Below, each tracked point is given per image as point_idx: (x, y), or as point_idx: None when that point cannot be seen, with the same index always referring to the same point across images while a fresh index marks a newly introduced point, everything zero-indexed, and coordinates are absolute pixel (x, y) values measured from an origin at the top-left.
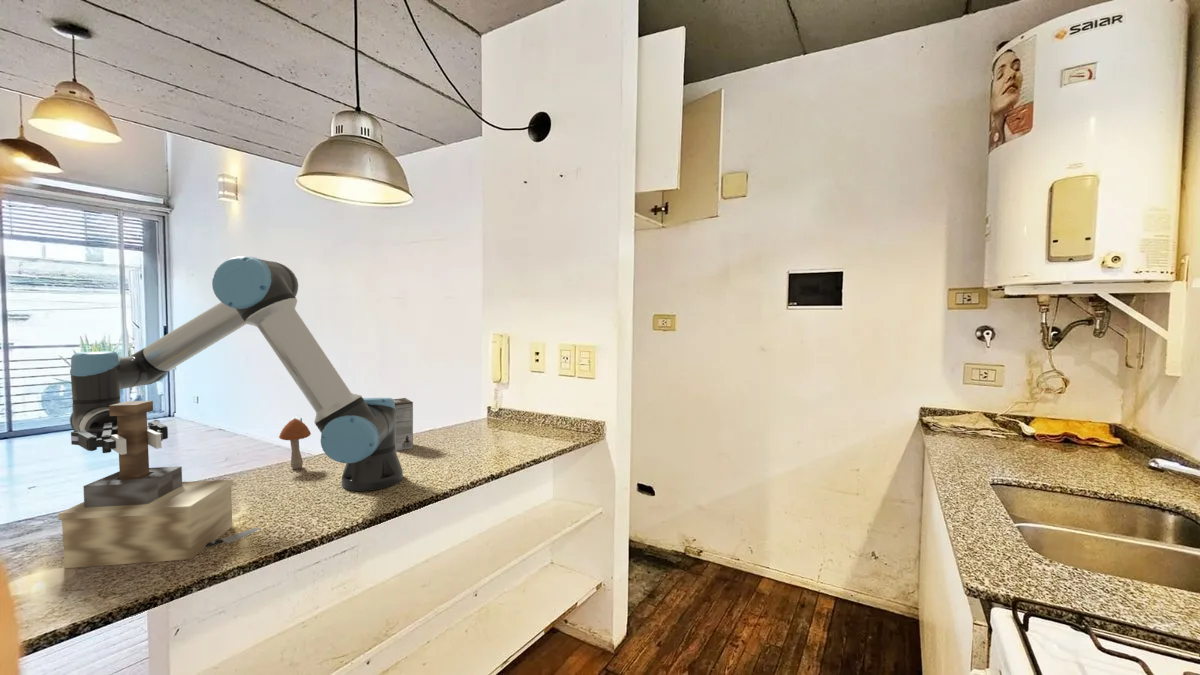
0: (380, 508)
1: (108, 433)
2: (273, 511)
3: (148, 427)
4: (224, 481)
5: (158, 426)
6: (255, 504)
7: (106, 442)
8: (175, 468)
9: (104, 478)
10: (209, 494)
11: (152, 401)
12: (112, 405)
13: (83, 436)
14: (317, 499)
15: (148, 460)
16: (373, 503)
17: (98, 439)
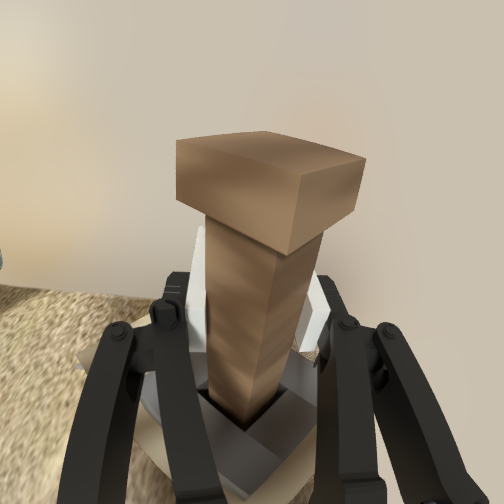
0: (22, 296)
1: (346, 370)
2: (48, 403)
3: (163, 379)
4: (89, 358)
5: (122, 365)
6: (39, 458)
7: (332, 284)
8: (149, 378)
9: (308, 421)
10: (148, 314)
11: (177, 145)
12: (352, 154)
13: (427, 385)
14: (2, 381)
15: (208, 370)
16: (9, 311)
17: (365, 331)
